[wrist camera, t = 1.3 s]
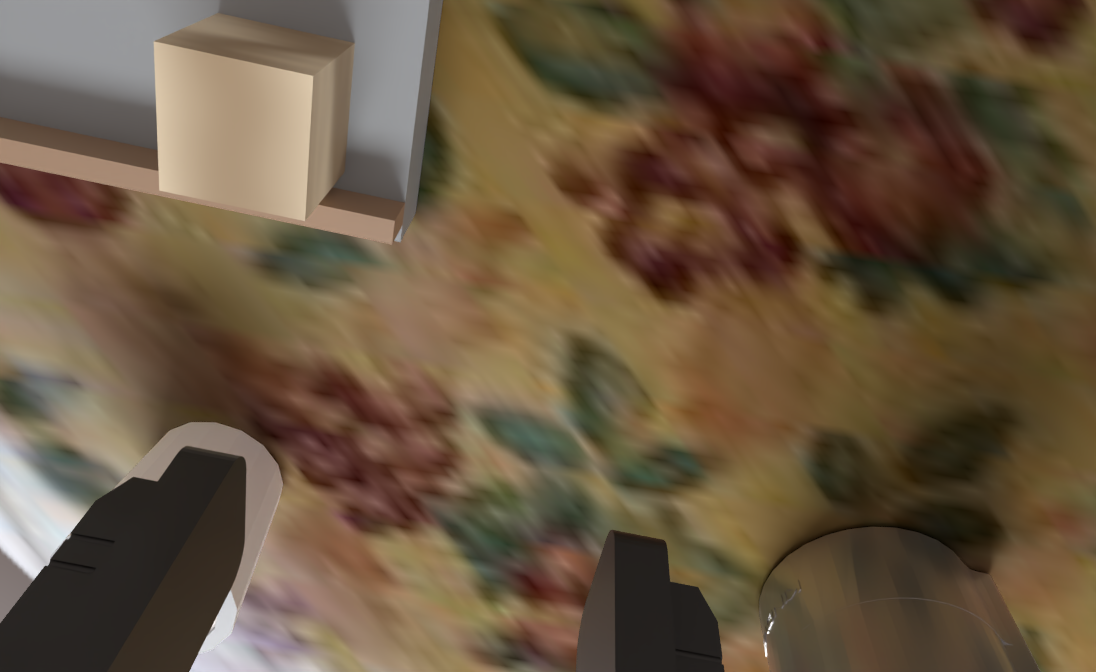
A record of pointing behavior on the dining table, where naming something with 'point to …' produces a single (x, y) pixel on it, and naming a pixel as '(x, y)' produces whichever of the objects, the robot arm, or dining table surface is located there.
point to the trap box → (130, 97)
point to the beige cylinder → (259, 500)
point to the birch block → (252, 114)
